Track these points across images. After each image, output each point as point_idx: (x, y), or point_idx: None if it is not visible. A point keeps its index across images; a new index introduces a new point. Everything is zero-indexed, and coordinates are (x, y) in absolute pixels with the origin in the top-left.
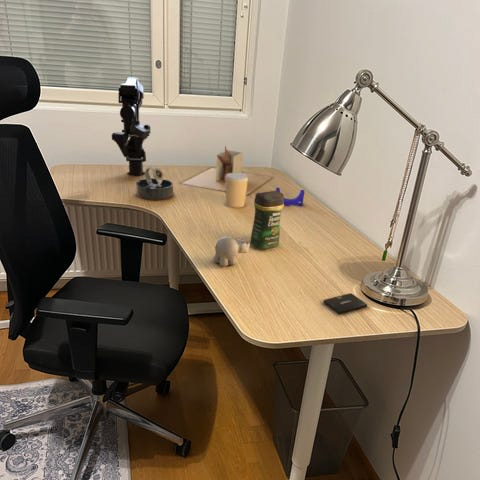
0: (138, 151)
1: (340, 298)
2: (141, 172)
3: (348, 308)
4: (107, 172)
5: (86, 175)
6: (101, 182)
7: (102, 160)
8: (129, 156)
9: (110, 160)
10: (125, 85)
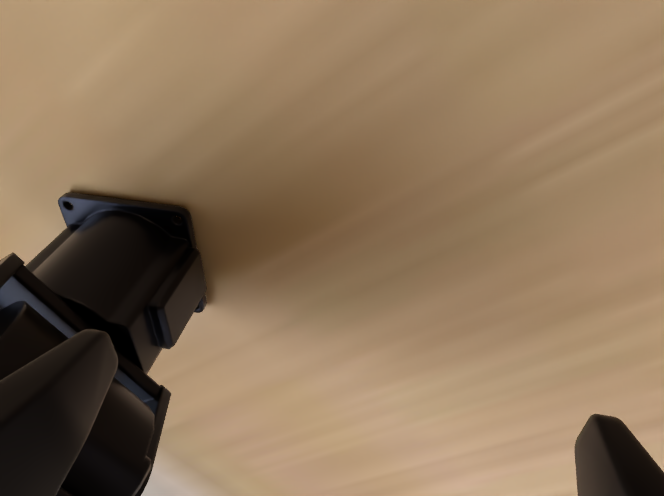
0: (86, 380)
1: None
2: (109, 215)
3: None
4: (285, 409)
5: (436, 468)
6: (560, 350)
7: None
8: (142, 414)
9: None
10: None
